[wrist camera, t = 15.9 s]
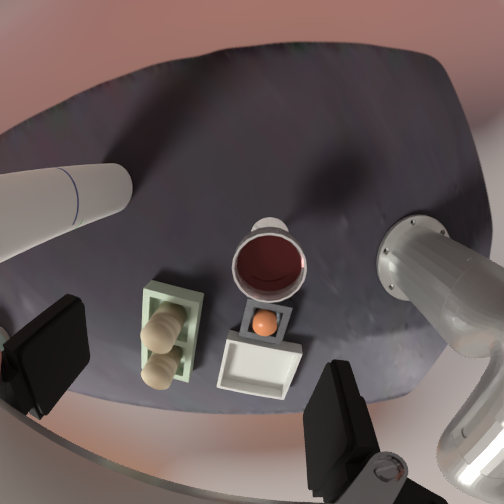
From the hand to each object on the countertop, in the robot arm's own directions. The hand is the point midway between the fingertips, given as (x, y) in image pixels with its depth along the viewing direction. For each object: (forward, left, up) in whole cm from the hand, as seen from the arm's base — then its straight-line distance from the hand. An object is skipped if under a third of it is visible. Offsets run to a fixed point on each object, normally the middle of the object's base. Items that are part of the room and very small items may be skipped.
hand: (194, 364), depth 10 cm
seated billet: (+8, +16, -27) cm, 32 cm away
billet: (+8, +23, -27) cm, 36 cm away
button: (-5, +13, -27) cm, 31 cm away
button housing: (-5, +13, -28) cm, 31 cm away
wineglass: (-3, +2, -28) cm, 29 cm away
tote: (-6, +22, -28) cm, 36 cm away
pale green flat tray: (+8, +19, -28) cm, 35 cm away
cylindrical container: (+20, 0, -28) cm, 35 cm away
